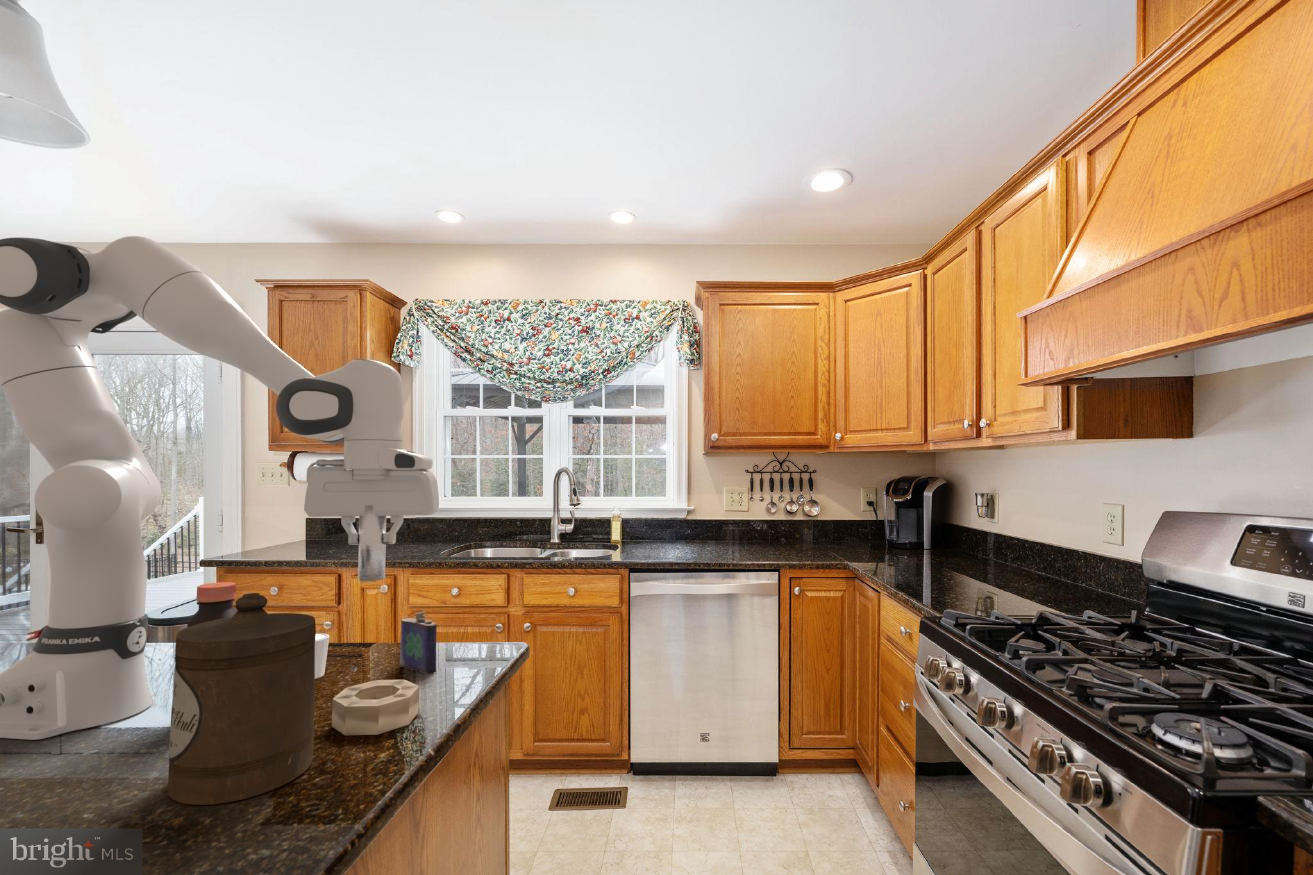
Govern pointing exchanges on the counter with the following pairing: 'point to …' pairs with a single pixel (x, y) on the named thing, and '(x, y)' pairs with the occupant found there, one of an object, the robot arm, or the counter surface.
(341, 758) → the counter surface
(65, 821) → the counter surface
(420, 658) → the flask
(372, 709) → the bead
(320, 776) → the counter surface
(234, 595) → the bottle
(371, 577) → the white candle
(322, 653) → the white short cylinder
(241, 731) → the wooden container
